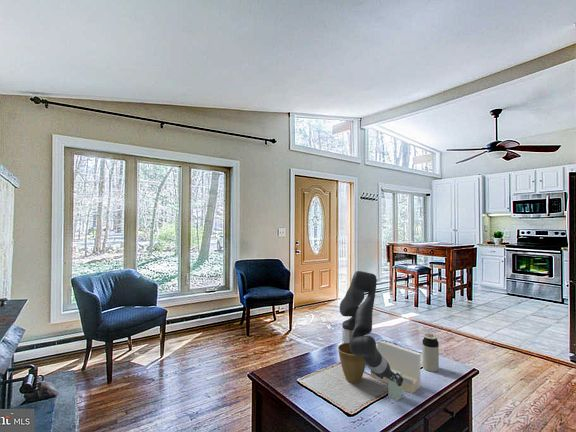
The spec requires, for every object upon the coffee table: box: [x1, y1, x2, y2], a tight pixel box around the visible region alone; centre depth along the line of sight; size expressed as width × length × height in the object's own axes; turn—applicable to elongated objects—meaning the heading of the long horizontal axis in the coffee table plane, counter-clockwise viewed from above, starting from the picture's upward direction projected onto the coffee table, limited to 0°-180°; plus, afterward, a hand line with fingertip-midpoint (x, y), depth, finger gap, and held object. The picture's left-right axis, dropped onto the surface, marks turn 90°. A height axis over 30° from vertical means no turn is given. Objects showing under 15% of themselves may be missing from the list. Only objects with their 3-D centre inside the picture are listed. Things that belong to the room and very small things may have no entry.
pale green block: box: [387, 369, 403, 401], centre depth 144 cm, size 4×4×11 cm
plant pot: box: [337, 343, 367, 384], centre depth 159 cm, size 15×15×16 cm
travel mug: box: [422, 332, 440, 373], centre depth 169 cm, size 8×8×18 cm
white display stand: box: [370, 340, 421, 394], centre depth 157 cm, size 9×22×16 cm, turn 44°
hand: (391, 380), depth 141 cm, fingers open, 8 cm apart
